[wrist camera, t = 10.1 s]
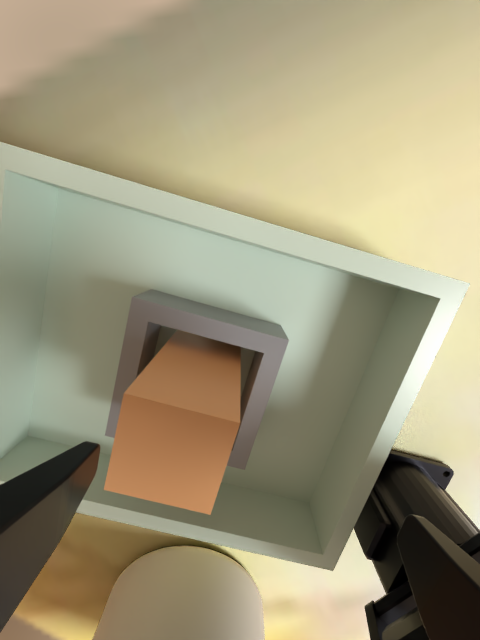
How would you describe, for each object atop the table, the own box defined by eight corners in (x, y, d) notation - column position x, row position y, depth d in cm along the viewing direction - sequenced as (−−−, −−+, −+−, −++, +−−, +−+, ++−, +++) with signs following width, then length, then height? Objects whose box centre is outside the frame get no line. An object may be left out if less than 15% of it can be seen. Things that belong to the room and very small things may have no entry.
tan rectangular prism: (240, 346, 17) (240, 423, 9) (223, 402, 18) (210, 514, 10) (177, 329, 17) (123, 393, 9) (163, 386, 18) (103, 489, 10)
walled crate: (411, 276, 17) (470, 283, 13) (314, 505, 21) (333, 570, 17) (54, 168, 16) (-18, 136, 11) (23, 434, 20) (-39, 486, 15)
